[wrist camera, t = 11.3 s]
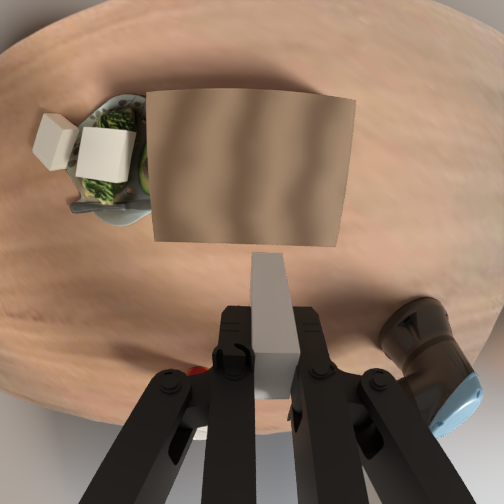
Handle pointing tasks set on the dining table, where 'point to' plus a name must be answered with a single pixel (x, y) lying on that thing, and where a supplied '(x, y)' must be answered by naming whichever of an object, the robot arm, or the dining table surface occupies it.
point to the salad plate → (115, 194)
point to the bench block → (248, 165)
